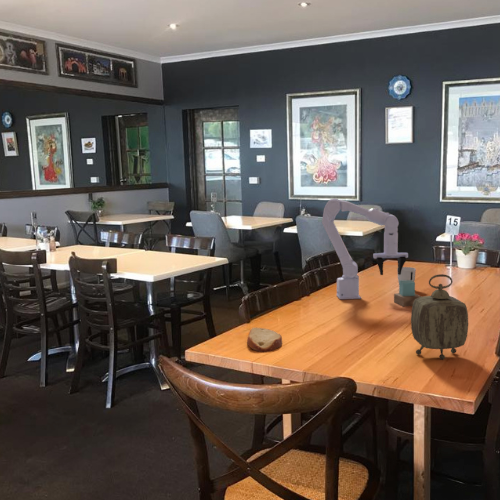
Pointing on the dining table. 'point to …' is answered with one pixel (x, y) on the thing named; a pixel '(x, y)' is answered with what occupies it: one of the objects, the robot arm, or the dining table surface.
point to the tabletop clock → (439, 320)
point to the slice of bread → (264, 339)
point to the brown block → (405, 299)
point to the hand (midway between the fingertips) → (390, 274)
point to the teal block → (406, 287)
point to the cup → (407, 274)
